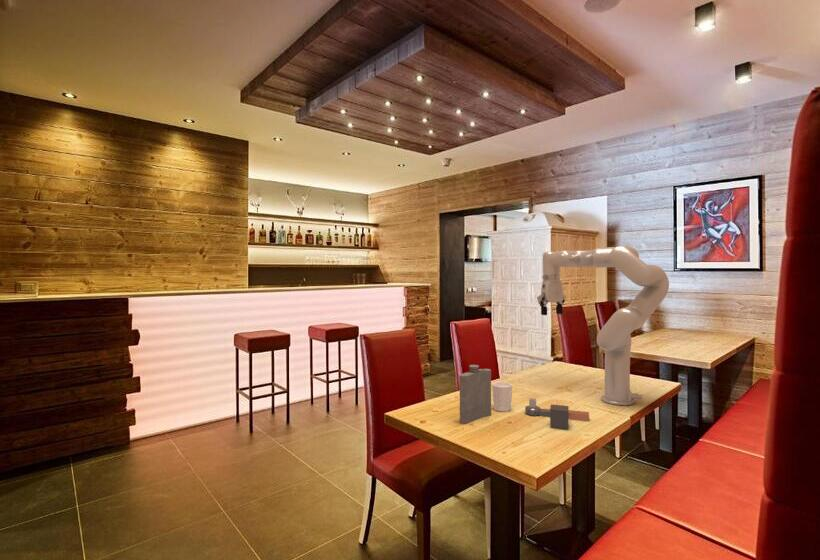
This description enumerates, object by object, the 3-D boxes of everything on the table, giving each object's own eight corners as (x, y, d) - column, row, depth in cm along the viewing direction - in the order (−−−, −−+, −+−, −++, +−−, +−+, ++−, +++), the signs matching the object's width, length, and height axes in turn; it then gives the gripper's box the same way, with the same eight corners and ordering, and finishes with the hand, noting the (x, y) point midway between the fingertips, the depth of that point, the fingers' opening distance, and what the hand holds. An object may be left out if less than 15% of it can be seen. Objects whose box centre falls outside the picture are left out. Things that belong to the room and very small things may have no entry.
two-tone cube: (568, 424, 150) (568, 406, 150) (568, 429, 145) (568, 411, 145) (551, 422, 152) (550, 404, 152) (550, 427, 147) (550, 409, 147)
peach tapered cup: (488, 407, 170) (488, 382, 170) (505, 405, 173) (504, 381, 173) (499, 413, 163) (499, 387, 162) (516, 410, 165) (516, 385, 165)
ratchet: (588, 417, 157) (588, 402, 157) (589, 422, 152) (589, 407, 152) (526, 411, 165) (525, 396, 165) (524, 415, 160) (524, 400, 160)
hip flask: (464, 424, 151) (463, 369, 151) (456, 421, 154) (455, 367, 154) (493, 414, 161) (492, 363, 161) (484, 412, 164) (484, 361, 164)
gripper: (543, 278, 189) (544, 316, 189) (570, 277, 197) (571, 314, 197) (531, 278, 196) (532, 314, 196) (558, 277, 203) (558, 312, 204)
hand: (551, 314), depth 196 cm, fingers open, 9 cm apart
